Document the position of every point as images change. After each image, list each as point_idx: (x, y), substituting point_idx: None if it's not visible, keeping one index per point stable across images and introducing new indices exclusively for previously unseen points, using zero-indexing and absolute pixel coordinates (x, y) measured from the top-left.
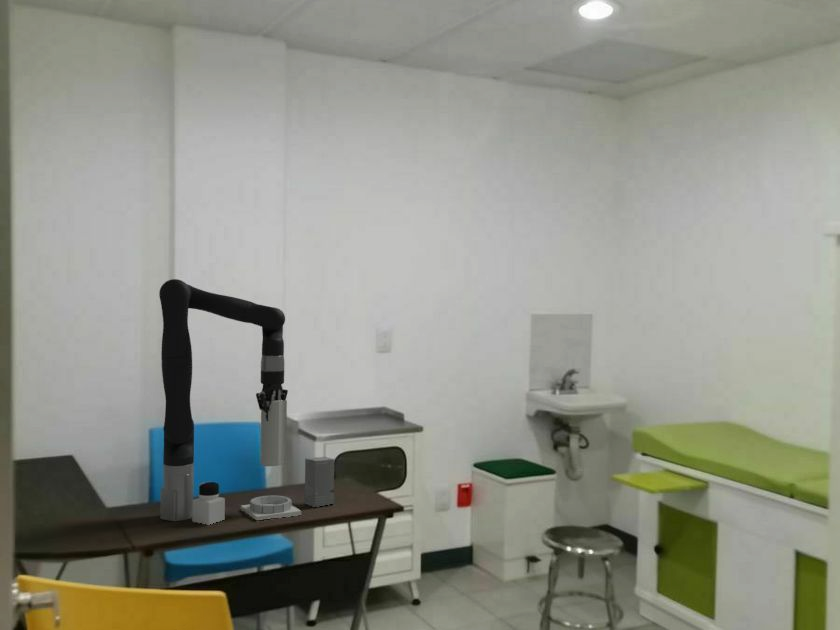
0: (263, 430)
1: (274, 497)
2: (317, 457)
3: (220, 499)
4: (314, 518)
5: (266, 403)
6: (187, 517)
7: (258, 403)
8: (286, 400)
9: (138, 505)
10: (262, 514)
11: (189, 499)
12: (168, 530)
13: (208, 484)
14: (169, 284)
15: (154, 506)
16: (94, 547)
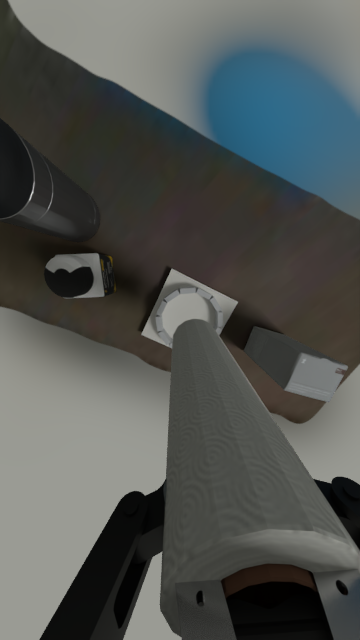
0: (170, 391)
1: (214, 306)
2: (328, 363)
3: (92, 296)
4: None
5: (128, 620)
6: (75, 241)
7: (77, 578)
8: None
9: (68, 67)
10: (155, 333)
11: (63, 236)
12: (25, 264)
13: (55, 285)
14: None
15: (87, 108)
16: None
